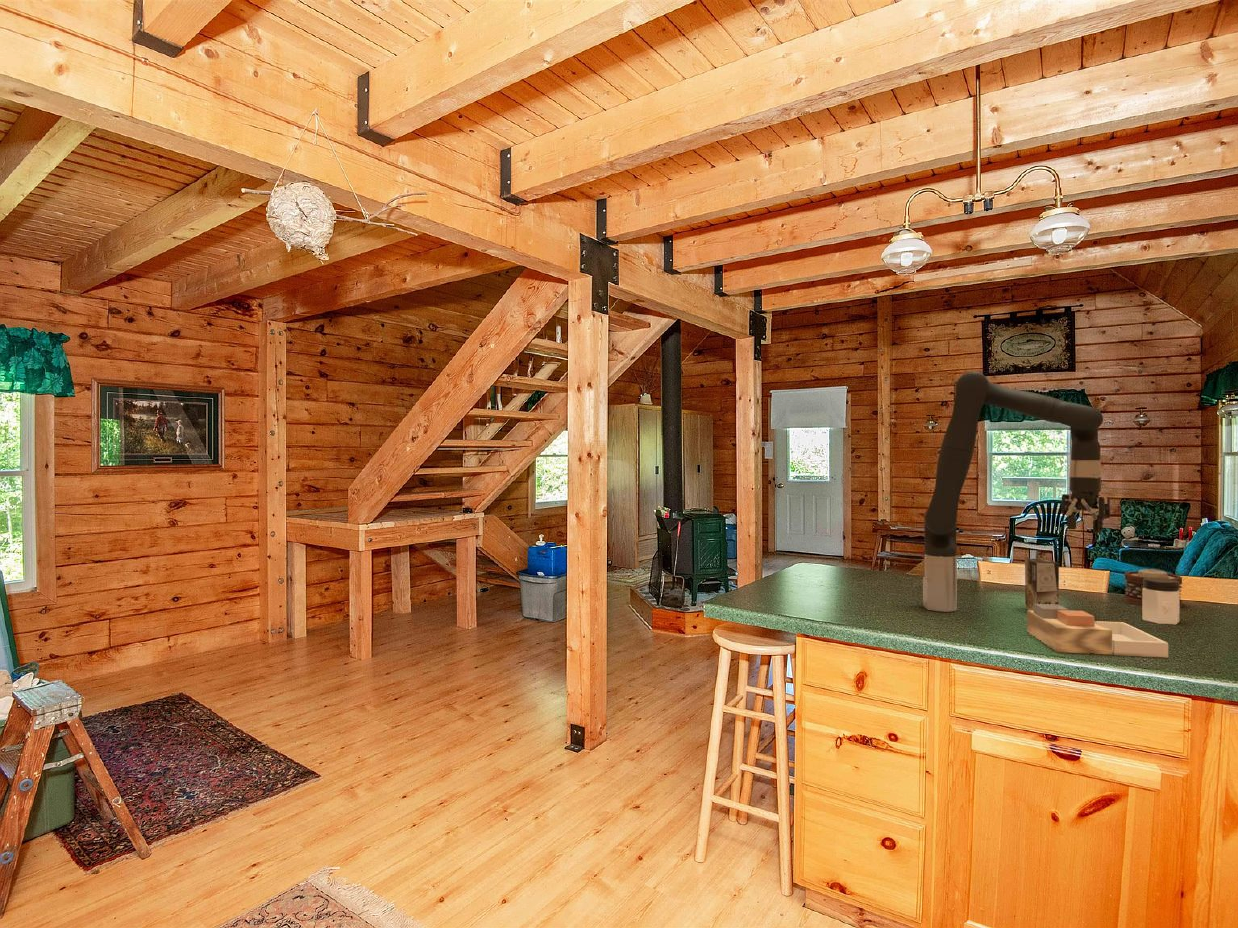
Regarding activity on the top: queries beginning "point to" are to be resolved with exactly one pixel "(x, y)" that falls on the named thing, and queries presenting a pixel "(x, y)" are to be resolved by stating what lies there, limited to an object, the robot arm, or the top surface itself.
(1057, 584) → the coffee box
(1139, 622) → the top surface
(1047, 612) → the slate tile
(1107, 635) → the board
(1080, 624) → the terracotta tile
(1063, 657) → the top surface
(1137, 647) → the box
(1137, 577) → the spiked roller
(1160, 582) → the jar
